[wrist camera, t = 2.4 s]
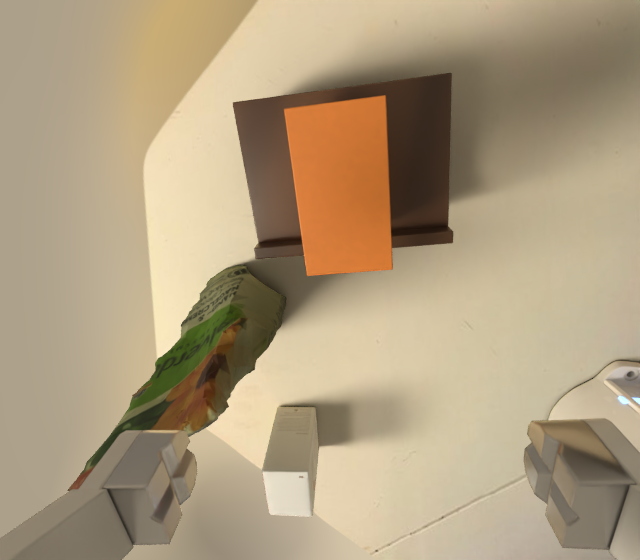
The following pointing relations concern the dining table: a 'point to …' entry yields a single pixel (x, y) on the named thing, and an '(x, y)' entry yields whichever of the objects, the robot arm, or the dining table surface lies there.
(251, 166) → the shelf
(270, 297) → the pouch
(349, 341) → the dining table surface
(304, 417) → the small box
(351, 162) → the block
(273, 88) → the dining table surface
